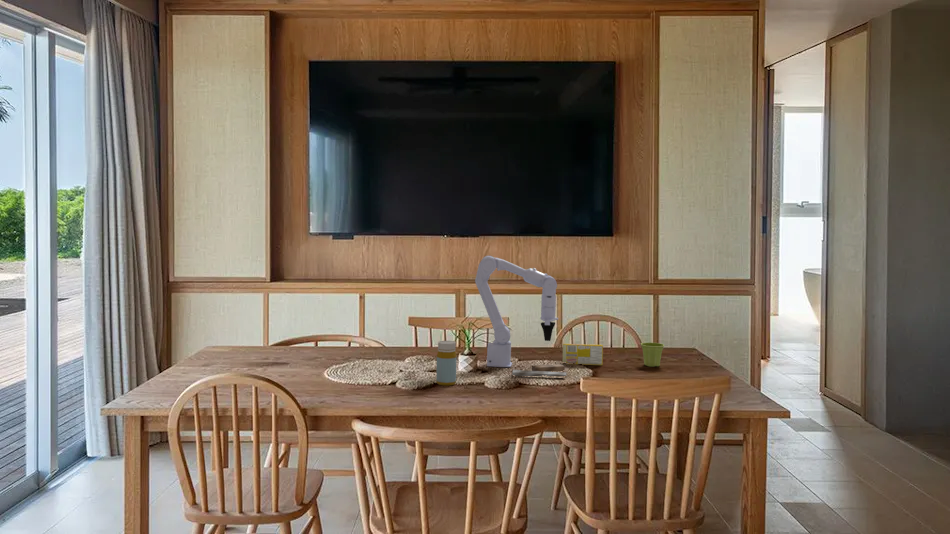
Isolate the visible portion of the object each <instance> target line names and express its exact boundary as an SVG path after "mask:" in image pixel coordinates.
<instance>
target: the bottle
mask: <svg viewBox="0 0 950 534" xmlns="http://www.w3.org/2000/svg"><path fill="white" fill-rule="evenodd" d="M456 343H457V342H456V341H453V340H440V341H438V342H437V353H436V378H435V379H436V383H437V385H438V386H442V387H443V386H444V387H447V386H448V387H449V386H450V387H451V386H454V385H455V384H456V383H457V354H456V353H457V352H456Z"/></svg>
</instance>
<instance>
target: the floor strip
mask: <svg viewBox="0 0 950 534" xmlns="http://www.w3.org/2000/svg"><path fill="white" fill-rule="evenodd" d="M512 375H515V376H542V375H544V376H545V375H547V376H566V377H567V372H566V371H565V372H548V371H532V370H527V369H524V370H523V369H512V372H511V376H512Z"/></svg>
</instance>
